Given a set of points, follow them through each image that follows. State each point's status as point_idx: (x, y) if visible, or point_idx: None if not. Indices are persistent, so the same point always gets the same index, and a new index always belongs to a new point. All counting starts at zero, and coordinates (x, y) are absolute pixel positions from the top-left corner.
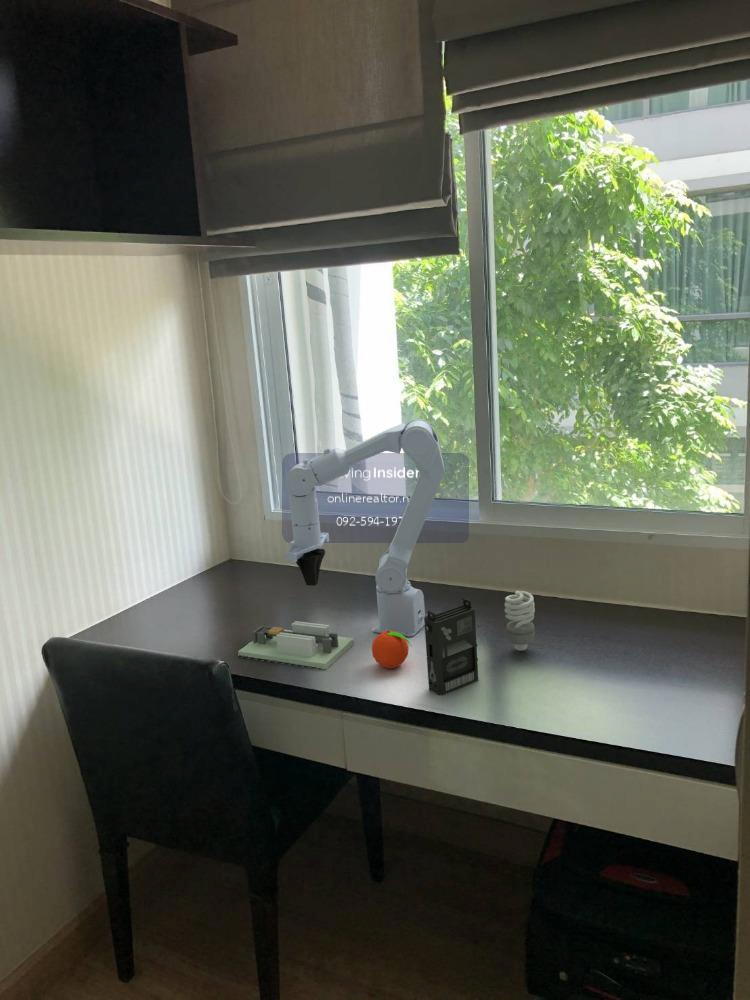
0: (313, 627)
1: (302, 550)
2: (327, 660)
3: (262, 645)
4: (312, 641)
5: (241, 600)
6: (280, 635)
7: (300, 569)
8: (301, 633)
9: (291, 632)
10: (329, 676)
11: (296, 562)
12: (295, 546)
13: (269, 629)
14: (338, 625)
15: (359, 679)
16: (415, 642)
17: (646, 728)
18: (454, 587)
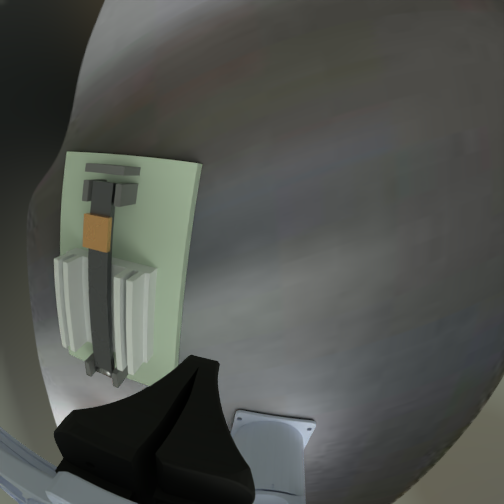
0: (115, 339)
1: (12, 496)
2: (79, 356)
3: None
4: (68, 345)
5: (416, 15)
6: (56, 269)
7: (139, 392)
8: (105, 305)
9: (103, 277)
10: (63, 356)
11: (98, 410)
12: (22, 494)
13: (108, 204)
14: (272, 338)
15: (75, 394)
16: None
17: None
18: (438, 455)
